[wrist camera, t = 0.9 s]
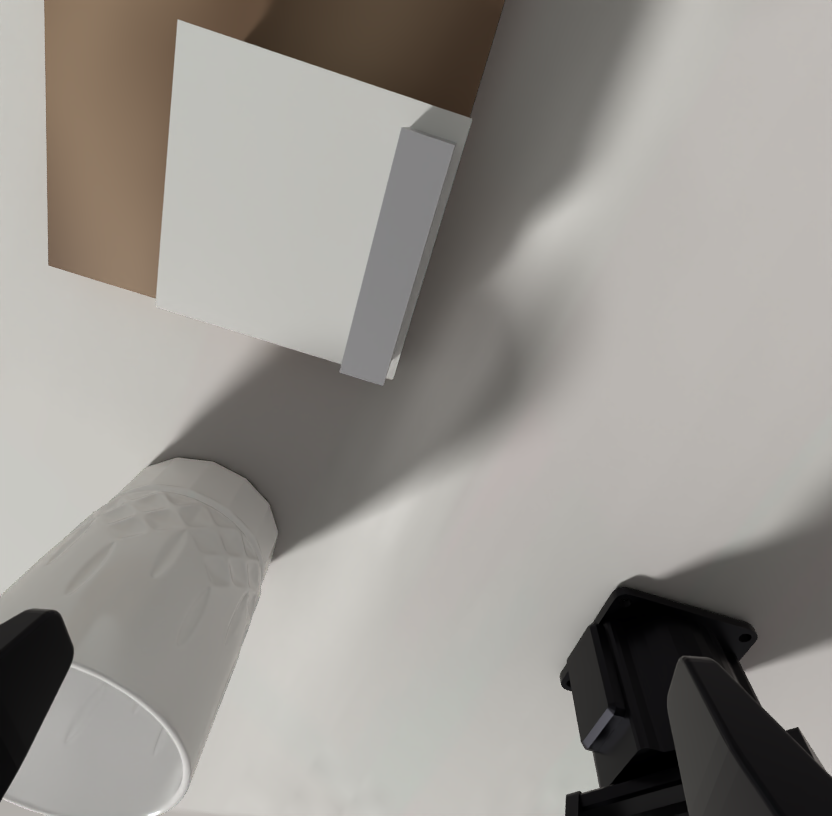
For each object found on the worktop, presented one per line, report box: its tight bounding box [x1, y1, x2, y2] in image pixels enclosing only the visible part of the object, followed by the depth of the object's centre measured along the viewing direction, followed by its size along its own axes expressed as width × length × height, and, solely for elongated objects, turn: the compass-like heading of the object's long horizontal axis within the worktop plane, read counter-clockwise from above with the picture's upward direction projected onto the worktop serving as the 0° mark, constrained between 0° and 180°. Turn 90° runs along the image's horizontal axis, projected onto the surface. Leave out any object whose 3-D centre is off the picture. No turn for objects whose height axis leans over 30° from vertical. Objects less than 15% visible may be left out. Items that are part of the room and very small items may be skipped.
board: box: [44, 0, 505, 298], centre depth 15 cm, size 12×18×2 cm, turn 164°
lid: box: [155, 20, 473, 386], centre depth 14 cm, size 7×7×3 cm
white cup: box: [0, 457, 278, 816], centre depth 20 cm, size 8×8×10 cm
